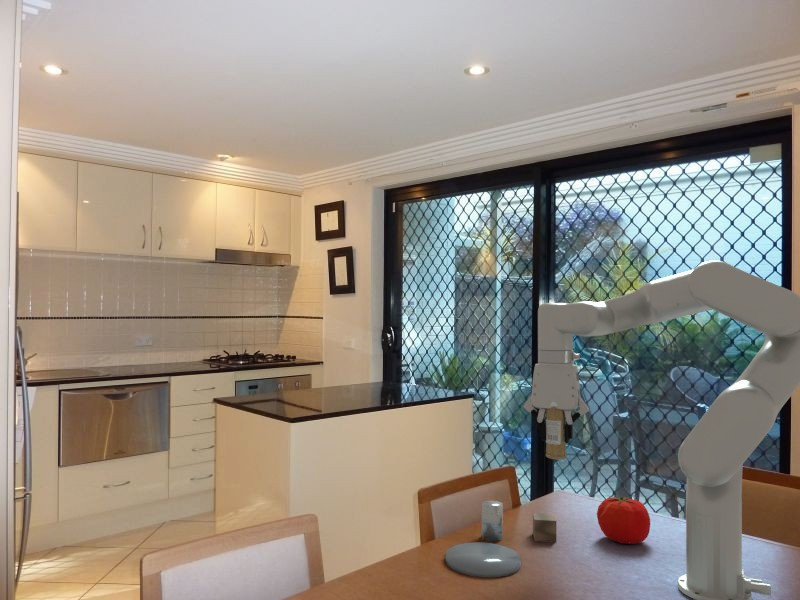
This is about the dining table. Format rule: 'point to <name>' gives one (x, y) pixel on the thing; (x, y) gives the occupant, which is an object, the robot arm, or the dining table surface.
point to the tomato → (624, 520)
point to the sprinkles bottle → (555, 433)
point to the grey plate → (483, 559)
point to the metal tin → (492, 520)
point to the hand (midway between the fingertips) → (555, 440)
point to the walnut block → (544, 527)
